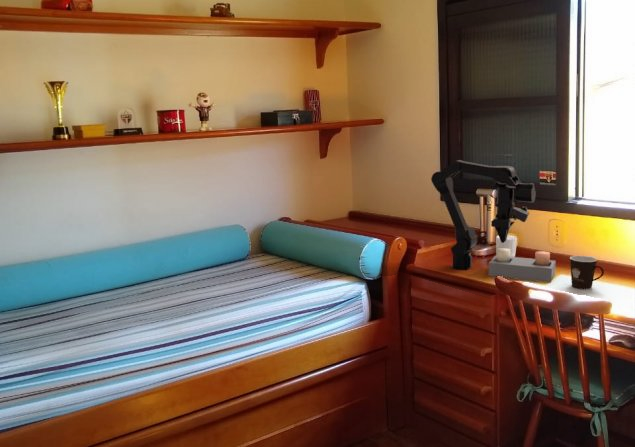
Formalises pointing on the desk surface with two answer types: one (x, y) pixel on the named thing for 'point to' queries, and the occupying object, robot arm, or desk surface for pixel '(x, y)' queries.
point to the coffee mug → (583, 271)
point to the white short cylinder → (503, 255)
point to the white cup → (507, 244)
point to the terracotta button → (542, 258)
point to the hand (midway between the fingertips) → (503, 241)
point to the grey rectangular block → (522, 269)
